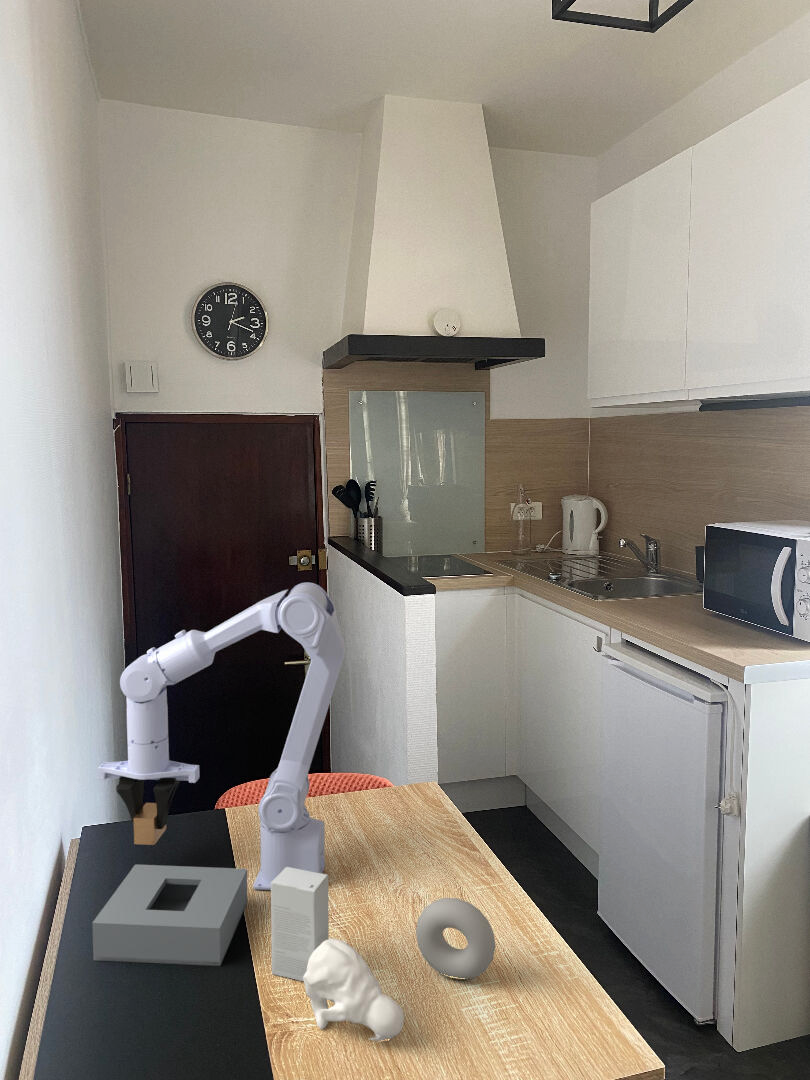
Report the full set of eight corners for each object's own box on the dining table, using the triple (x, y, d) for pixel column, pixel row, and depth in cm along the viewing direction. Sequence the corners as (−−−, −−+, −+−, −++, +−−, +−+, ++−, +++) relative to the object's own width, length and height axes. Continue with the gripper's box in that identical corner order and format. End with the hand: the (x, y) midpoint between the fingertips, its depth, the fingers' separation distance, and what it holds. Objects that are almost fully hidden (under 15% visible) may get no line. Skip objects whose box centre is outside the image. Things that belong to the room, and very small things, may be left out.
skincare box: (329, 964, 100) (330, 874, 99) (315, 986, 96) (315, 892, 95) (286, 954, 102) (285, 865, 101) (269, 974, 98) (269, 882, 97)
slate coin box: (247, 902, 114) (247, 868, 113) (220, 965, 100) (219, 928, 99) (136, 897, 114) (135, 864, 114) (93, 960, 100) (92, 922, 100)
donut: (411, 974, 99) (412, 898, 97) (420, 958, 102) (422, 883, 101) (490, 996, 95) (492, 917, 94) (497, 978, 98) (500, 901, 97)
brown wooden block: (166, 828, 122) (165, 803, 121) (154, 844, 117) (153, 818, 116) (146, 827, 122) (146, 802, 122) (134, 844, 117) (133, 818, 117)
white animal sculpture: (334, 921, 95) (421, 966, 88) (328, 985, 96) (413, 1035, 90) (299, 949, 89) (389, 999, 83) (294, 1017, 91) (381, 1071, 84)
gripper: (204, 729, 121) (206, 814, 123) (110, 726, 122) (113, 811, 124) (190, 746, 114) (192, 837, 116) (90, 743, 115) (93, 833, 117)
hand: (150, 825), depth 119 cm, fingers closed on brown wooden block, 3 cm apart
